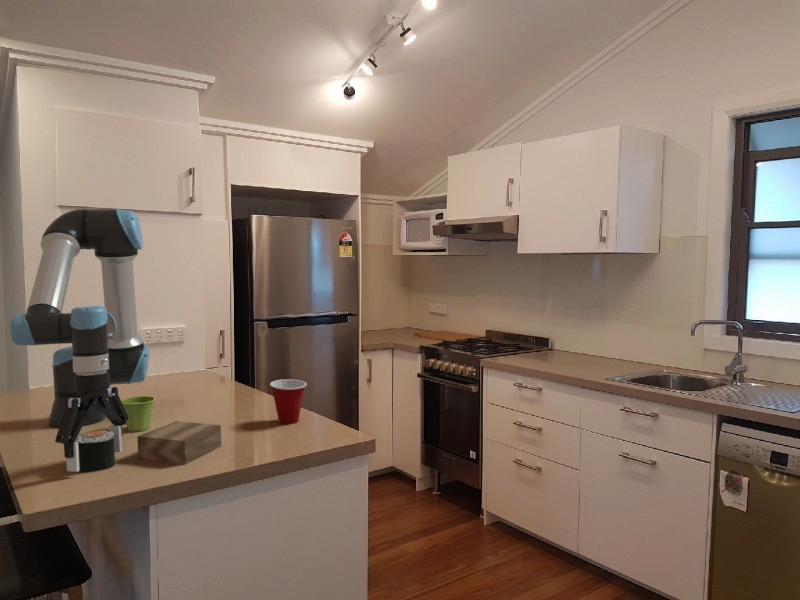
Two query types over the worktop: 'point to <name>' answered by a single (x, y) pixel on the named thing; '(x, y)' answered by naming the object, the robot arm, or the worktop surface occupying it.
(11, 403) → the worktop surface
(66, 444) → the robot arm
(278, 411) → the plastic cup
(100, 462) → the sushi
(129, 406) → the plant pot
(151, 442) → the walnut block
